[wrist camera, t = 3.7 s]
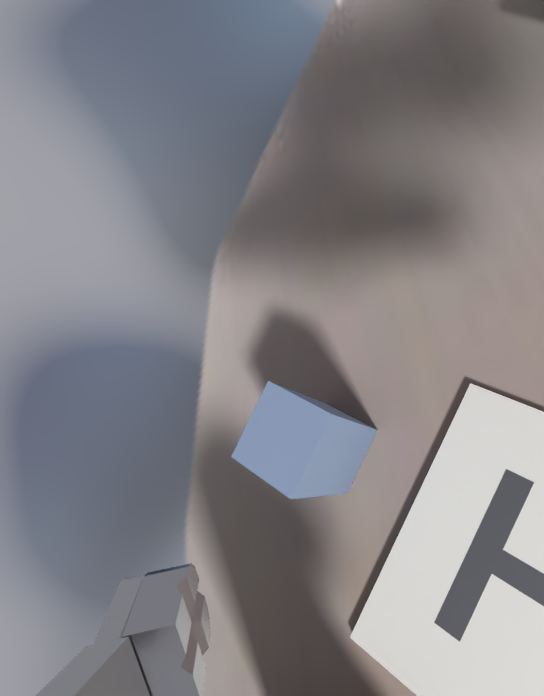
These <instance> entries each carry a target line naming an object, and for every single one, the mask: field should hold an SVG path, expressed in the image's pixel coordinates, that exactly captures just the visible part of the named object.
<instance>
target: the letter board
mask: <svg viewBox="0 0 544 696" xmlns="http://www.w3.org/2000/svg"><path fill="white" fill-rule="evenodd" d="M350 638H351V639H352V640H353V641H355V642H356V643H357V644H358V645H359V646H360V647H362V648H363V649H364V650H365V651H366V652H367V653H368V654H370V655H371V656H372V657H373V658H374V659H375V660H377V661H378V662H379V663H380V664H381V665H382V666H383V667H385V668H386V669H387V670H388V671H389V672H390V673H391V674H393V675H394V676H395V677H396V678H397V679H398V680H400V681H401V682H402V683H403V684H404V685H405V686H406V687H408V688H409V689H410V690H411V691H412V692H413V693H415V694H416V695H417V696H544V412H543V411H540V410H538V409H535V408H533V407H530V406H527V405H525V404H522V403H520V402H517V401H515V400H512V399H510V398H507V397H504V396H502V395H499V394H497V393H494V392H492V391H489V390H487V389H484V388H481V387H479V386H476V385H474V384H471V383H470V385H469V387H468V389H467V391H466V393H465V396H464V398H463V400H462V402H461V404H460V406H459V408H458V410H457V412H456V415H455V417H454V419H453V421H452V423H451V425H450V427H449V429H448V431H447V434H446V436H445V438H444V440H443V442H442V444H441V446H440V448H439V450H438V453H437V455H436V457H435V459H434V461H433V463H432V465H431V467H430V469H429V472H428V474H427V476H426V478H425V480H424V482H423V484H422V486H421V488H420V490H419V493H418V495H417V497H416V499H415V501H414V503H413V505H412V507H411V509H410V512H409V514H408V516H407V518H406V520H405V522H404V524H403V526H402V528H401V531H400V533H399V535H398V537H397V539H396V541H395V543H394V545H393V547H392V550H391V552H390V554H389V556H388V558H387V560H386V562H385V564H384V566H383V569H382V571H381V573H380V575H379V577H378V579H377V581H376V583H375V585H374V588H373V590H372V592H371V594H370V596H369V598H368V600H367V602H366V604H365V607H364V609H363V611H362V613H361V615H360V617H359V619H358V621H357V623H356V625H355V628H354V630H353V632H352V634H351V636H350Z"/></svg>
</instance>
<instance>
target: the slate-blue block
mask: <svg viewBox="0 0 544 696" xmlns="http://www.w3.org/2000/svg"><path fill="white" fill-rule="evenodd" d="M377 431H378V430H376V429H374V428H372V427H371V426H369V425H367V424H365V423H363V422H361V421H359V420H357V419H355V418H353V417H351V416H349V415H347V414H345V413H343V412H341V411H340V410H338V409H336V408H334V407H332V406H330V405H328V404H326V403H324V402H321V401H319V400H316V399H313V398H311V397H308V396H306V395H303V394H301V393H298V392H296V391H293V390H291V389H288V388H286V387H283V386H281V385H278V384H276V383H273V382H271V381H268V382H267V384H266V386H265V388H264V390H263V392H262V395H261V397H260V399H259V401H258V403H257V405H256V407H255V409H254V411H253V413H252V415H251V417H250V419H249V421H248V423H247V425H246V427H245V429H244V431H243V433H242V436H241V438H240V440H239V442H238V444H237V446H236V448H235V450H234V452H233V454H232V456H231V457H232V458H234V459H235V460H236V461H238V462H239V463H241V464H242V465H243V466H245V467H246V468H247V469H249V470H250V471H252V472H253V473H254V474H256V475H257V476H259V477H260V478H261V479H263V480H264V481H266V482H267V483H268V484H270V485H271V486H273V487H274V488H275V489H277V490H278V491H280V492H281V493H282V494H284V495H285V496H287V497H288V498H289V499H298V498H308V497H318V496H328V495H338V494H347V493H348V491H349V489H350V487H351V485H352V483H353V481H354V479H355V477H356V474H357V472H358V470H359V468H360V466H361V464H362V462H363V460H364V458H365V456H366V454H367V451H368V449H369V447H370V445H371V443H372V441H373V439H374V437H375V435H376V433H377Z"/></svg>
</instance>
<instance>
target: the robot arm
mask: <svg viewBox="0 0 544 696" xmlns="http://www.w3.org/2000/svg"><path fill="white" fill-rule="evenodd" d="M198 583H199V577H198V574H197V572H196V569H195V566H194V565H192V564H186V565H181V566H176V567H172V568H167V569H162V570H157V571H153V572H148V573H143V574H139V575H134V576H130V577H125V578H124V579H123V580H122V581H121V582H120V583H119V586H118V588H117V590H116V593H115V596H114V598H113V600H112V602H111V605H110V607H109V609H108V612H107V614H106V616H105V619H104V621H103V623H102V626H101V628H100V630H99V633H98V635H97V637H96V640H95V642H94V644H93V645H90V646H86V647H85V648H84V649H83V650H82V651H81V652H80V653H79V654H78V655H77V656H76V657H75V658H74V659H73V660H72V661H71V662H70V663H69V664H68V665H67V666H66V667H65V668H64V669H63V670H62V671H60V672H59V673H58V674H57V676H55V678H53V679H52V680H51V681H50V682H49V684H47V685H46V686H45V687H44V688H43V689H42V690H41V691H40V692H39V693H38V694H37V695H36V696H203V691H204V683H205V675H206V666H205V663H204V660H203V657H202V656H203V655H204V653H205V652H206V650H207V649H208V648H209V640H210V618H209V612H208V607H207V603H206V600H205V596H203V595H202V594H201V593H199V592H198V591H197V589H198Z"/></svg>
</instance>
